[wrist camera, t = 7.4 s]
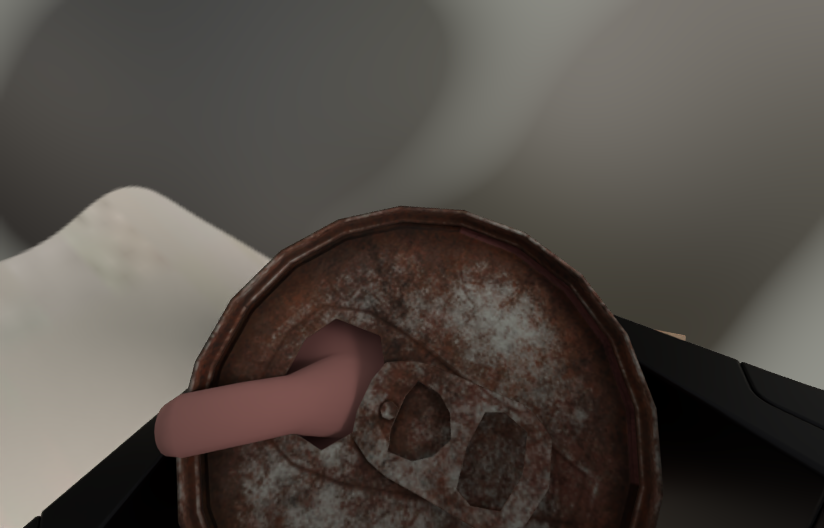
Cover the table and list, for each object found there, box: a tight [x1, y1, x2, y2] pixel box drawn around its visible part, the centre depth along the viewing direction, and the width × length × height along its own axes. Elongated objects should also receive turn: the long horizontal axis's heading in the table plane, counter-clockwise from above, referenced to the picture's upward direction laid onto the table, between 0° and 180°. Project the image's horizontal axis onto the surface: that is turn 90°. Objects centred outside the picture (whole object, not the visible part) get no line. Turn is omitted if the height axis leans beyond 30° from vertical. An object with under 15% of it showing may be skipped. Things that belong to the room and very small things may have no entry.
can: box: [154, 206, 664, 528], centre depth 11 cm, size 6×6×14 cm
